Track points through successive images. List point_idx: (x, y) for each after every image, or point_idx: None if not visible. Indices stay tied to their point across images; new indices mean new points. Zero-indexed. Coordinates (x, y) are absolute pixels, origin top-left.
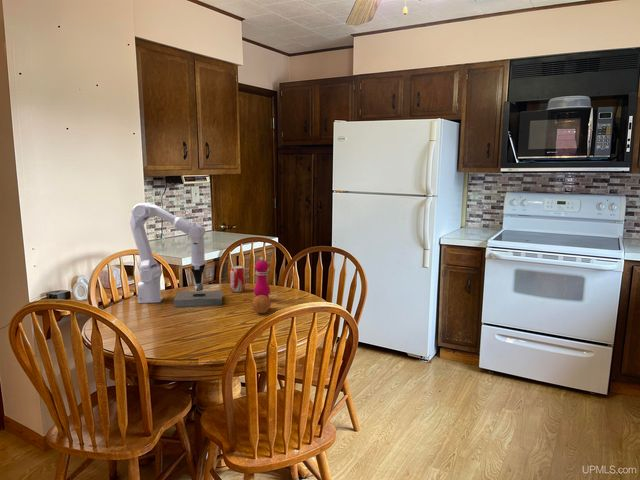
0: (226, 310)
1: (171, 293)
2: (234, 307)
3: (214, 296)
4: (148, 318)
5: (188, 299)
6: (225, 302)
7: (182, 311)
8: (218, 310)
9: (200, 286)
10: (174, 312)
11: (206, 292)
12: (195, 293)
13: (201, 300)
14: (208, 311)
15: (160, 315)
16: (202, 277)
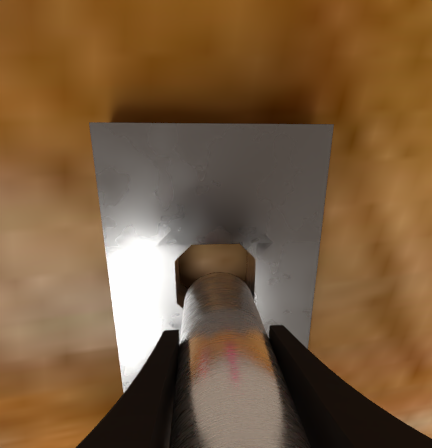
0: (429, 95)
1: (26, 414)
2: (383, 39)
3: (267, 178)
4: (422, 415)
5: (304, 327)
6: (253, 104)
7: (370, 317)
8: (412, 144)
9: (255, 307)
10: (374, 345)
11: (145, 242)
12: (166, 307)
13: (313, 254)
14: (412, 198)
15: (399, 386)
16: (252, 352)
